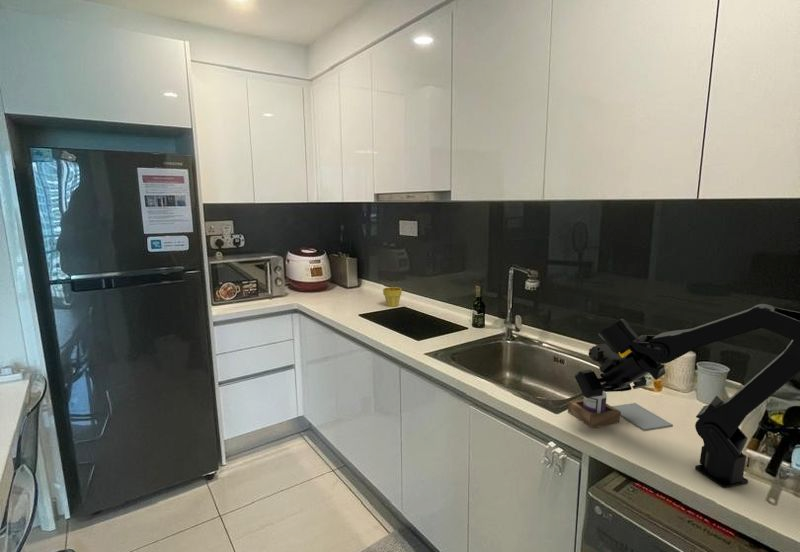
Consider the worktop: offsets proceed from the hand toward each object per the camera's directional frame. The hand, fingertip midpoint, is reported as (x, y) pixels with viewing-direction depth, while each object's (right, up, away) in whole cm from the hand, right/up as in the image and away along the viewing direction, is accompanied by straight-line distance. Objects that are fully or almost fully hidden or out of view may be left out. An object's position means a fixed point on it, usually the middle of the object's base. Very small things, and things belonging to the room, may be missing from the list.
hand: (591, 391), depth 108 cm
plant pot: (-56, +14, +121) cm, 134 cm away
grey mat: (+13, -7, 0) cm, 14 cm away
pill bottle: (0, -7, 0) cm, 7 cm away
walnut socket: (0, -7, 0) cm, 7 cm away
